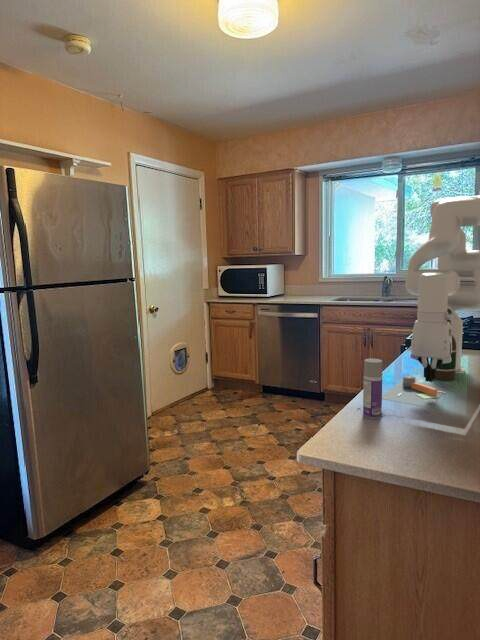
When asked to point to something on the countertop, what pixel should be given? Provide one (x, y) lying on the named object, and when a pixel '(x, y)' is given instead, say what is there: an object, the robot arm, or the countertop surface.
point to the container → (372, 388)
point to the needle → (418, 385)
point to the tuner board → (414, 395)
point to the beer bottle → (447, 369)
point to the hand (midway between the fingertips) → (429, 380)
